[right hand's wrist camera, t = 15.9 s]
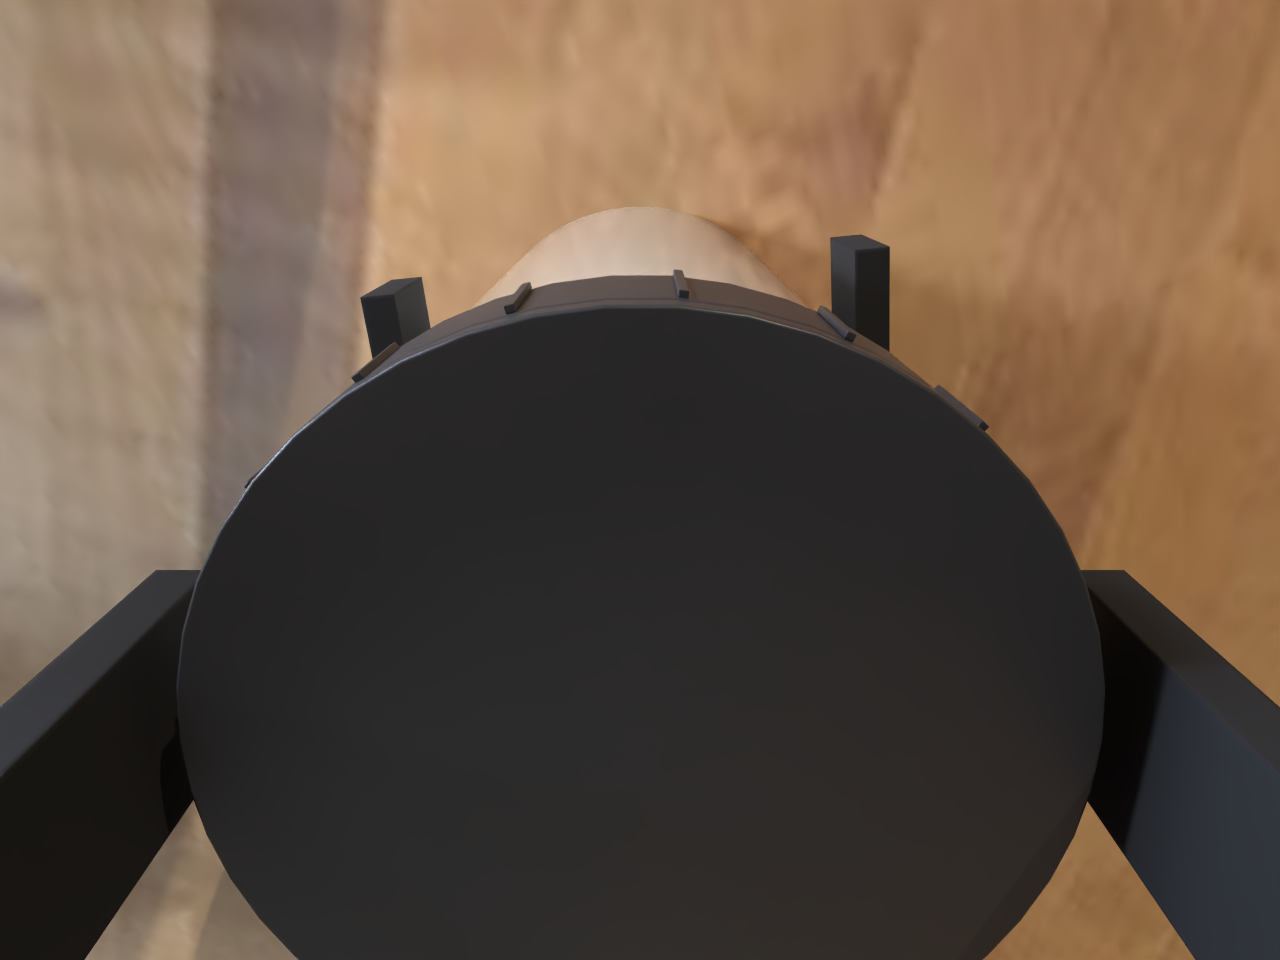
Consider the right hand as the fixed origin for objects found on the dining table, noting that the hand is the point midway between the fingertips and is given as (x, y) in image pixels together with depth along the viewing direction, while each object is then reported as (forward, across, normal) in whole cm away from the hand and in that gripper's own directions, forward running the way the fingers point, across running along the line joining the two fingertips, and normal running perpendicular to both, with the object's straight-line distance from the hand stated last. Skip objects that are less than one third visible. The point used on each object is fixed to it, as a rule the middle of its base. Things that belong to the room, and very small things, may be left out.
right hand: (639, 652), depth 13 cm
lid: (-2, 0, 0) cm, 2 cm away
